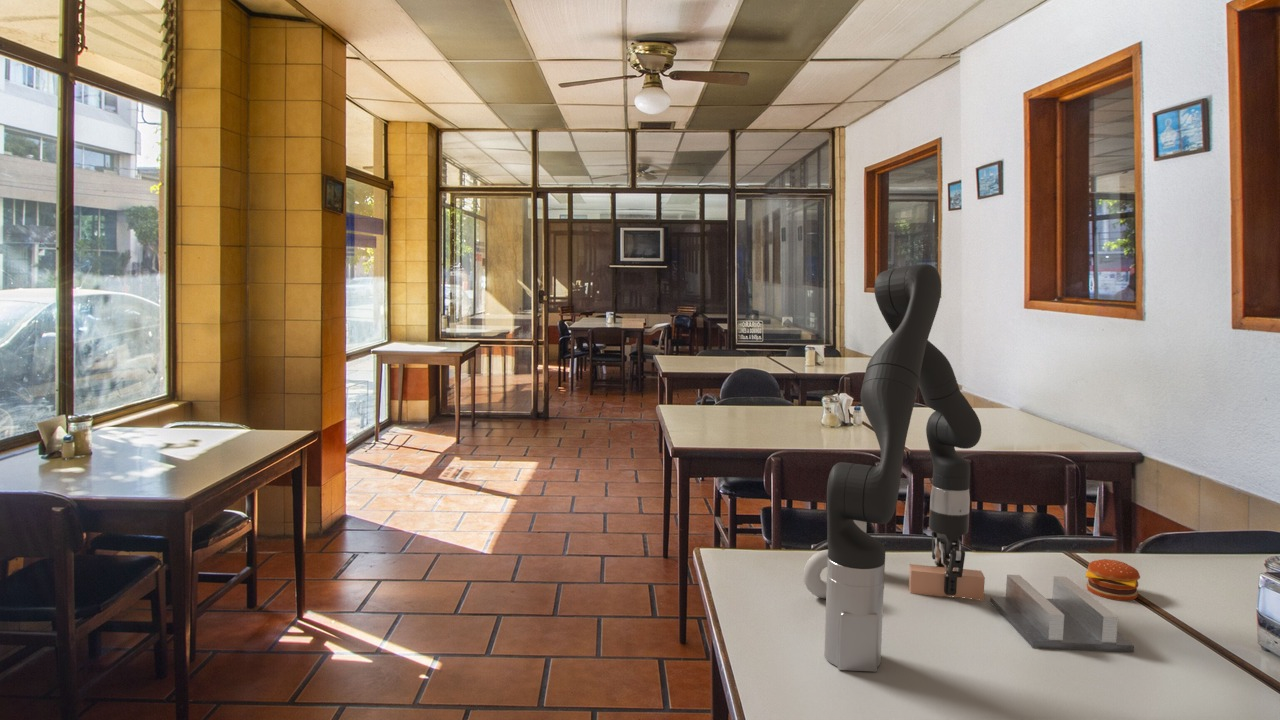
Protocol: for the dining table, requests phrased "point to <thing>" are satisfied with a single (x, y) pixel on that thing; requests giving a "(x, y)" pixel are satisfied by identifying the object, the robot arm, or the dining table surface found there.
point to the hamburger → (1112, 580)
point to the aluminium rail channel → (1060, 617)
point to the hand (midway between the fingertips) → (945, 588)
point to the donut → (816, 573)
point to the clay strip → (934, 577)
